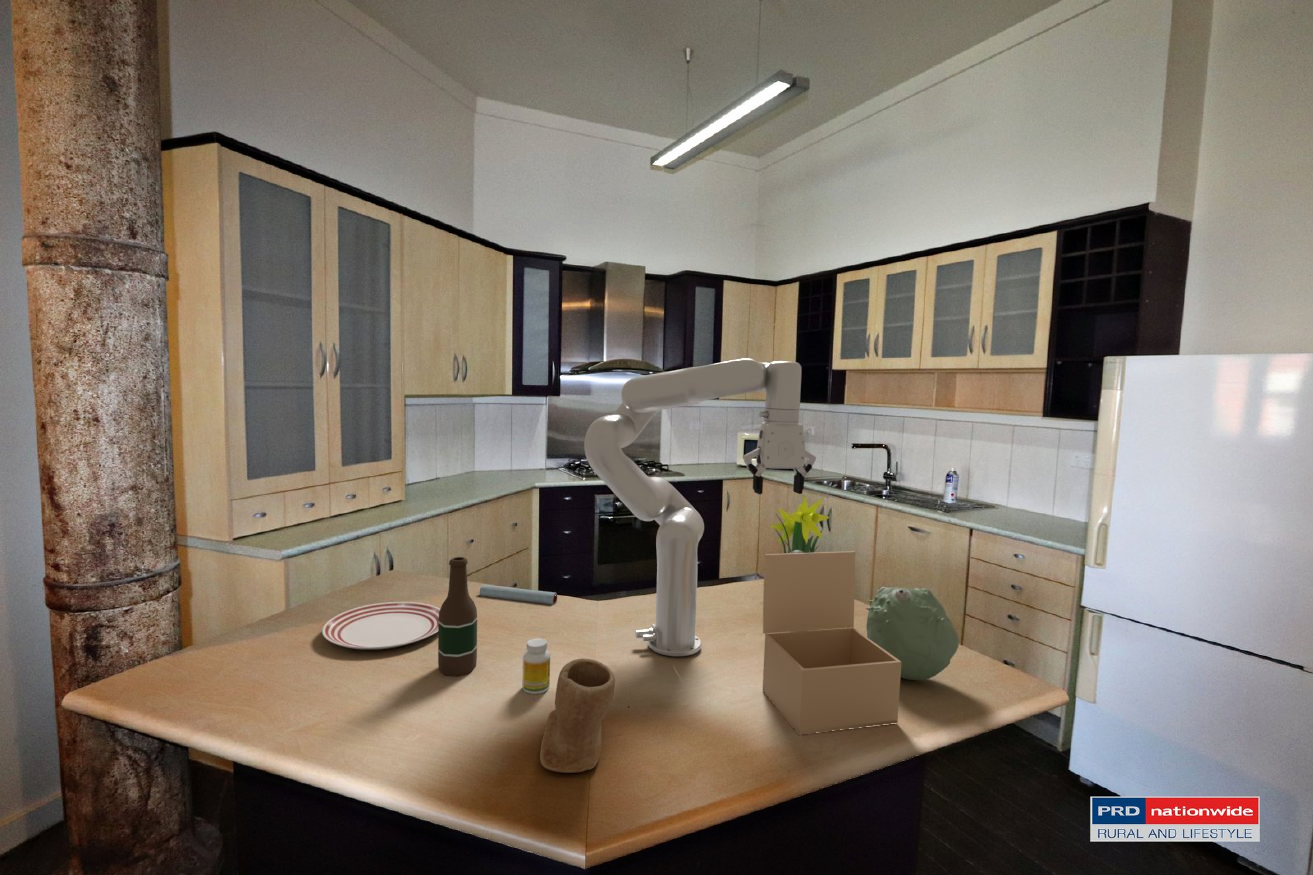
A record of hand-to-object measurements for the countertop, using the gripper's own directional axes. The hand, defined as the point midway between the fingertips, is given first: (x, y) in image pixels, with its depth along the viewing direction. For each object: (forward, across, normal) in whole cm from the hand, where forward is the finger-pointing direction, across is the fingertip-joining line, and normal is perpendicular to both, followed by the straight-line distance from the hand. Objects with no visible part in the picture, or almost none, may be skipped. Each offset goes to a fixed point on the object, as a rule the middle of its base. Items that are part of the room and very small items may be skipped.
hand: (778, 493), depth 134 cm
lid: (+26, +2, -14) cm, 30 cm away
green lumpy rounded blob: (+38, +26, -14) cm, 49 cm away
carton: (+38, +2, -22) cm, 44 cm away
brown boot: (+39, -47, -27) cm, 67 cm away
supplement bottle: (+38, -53, -5) cm, 66 cm away
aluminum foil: (+39, -57, +46) cm, 83 cm away
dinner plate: (+39, -87, +28) cm, 99 cm away
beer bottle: (+38, -69, +6) cm, 79 cm away
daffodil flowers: (+38, +17, +21) cm, 47 cm away
